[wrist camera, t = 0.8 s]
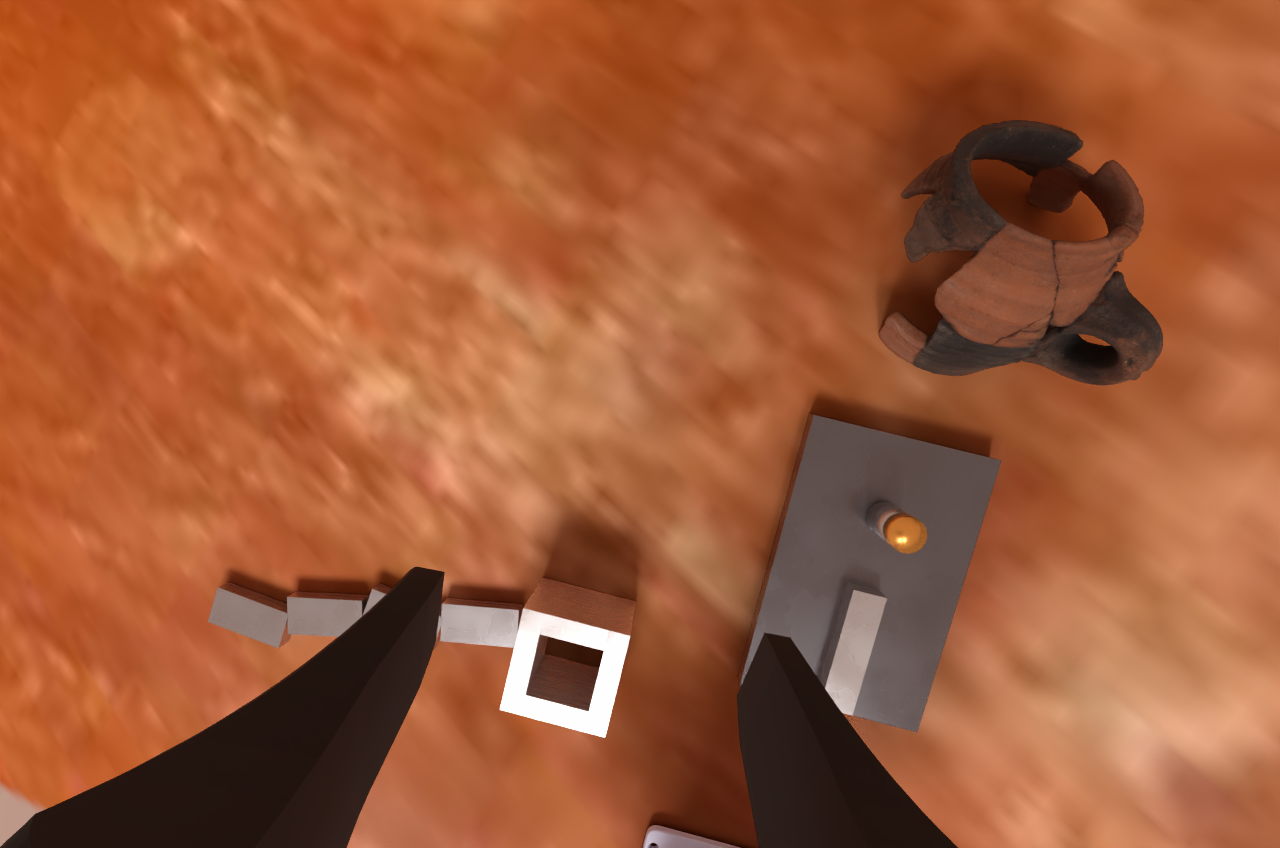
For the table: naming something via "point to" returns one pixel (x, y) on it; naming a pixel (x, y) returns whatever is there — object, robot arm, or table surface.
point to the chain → (354, 616)
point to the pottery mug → (1027, 266)
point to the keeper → (872, 563)
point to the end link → (561, 683)
